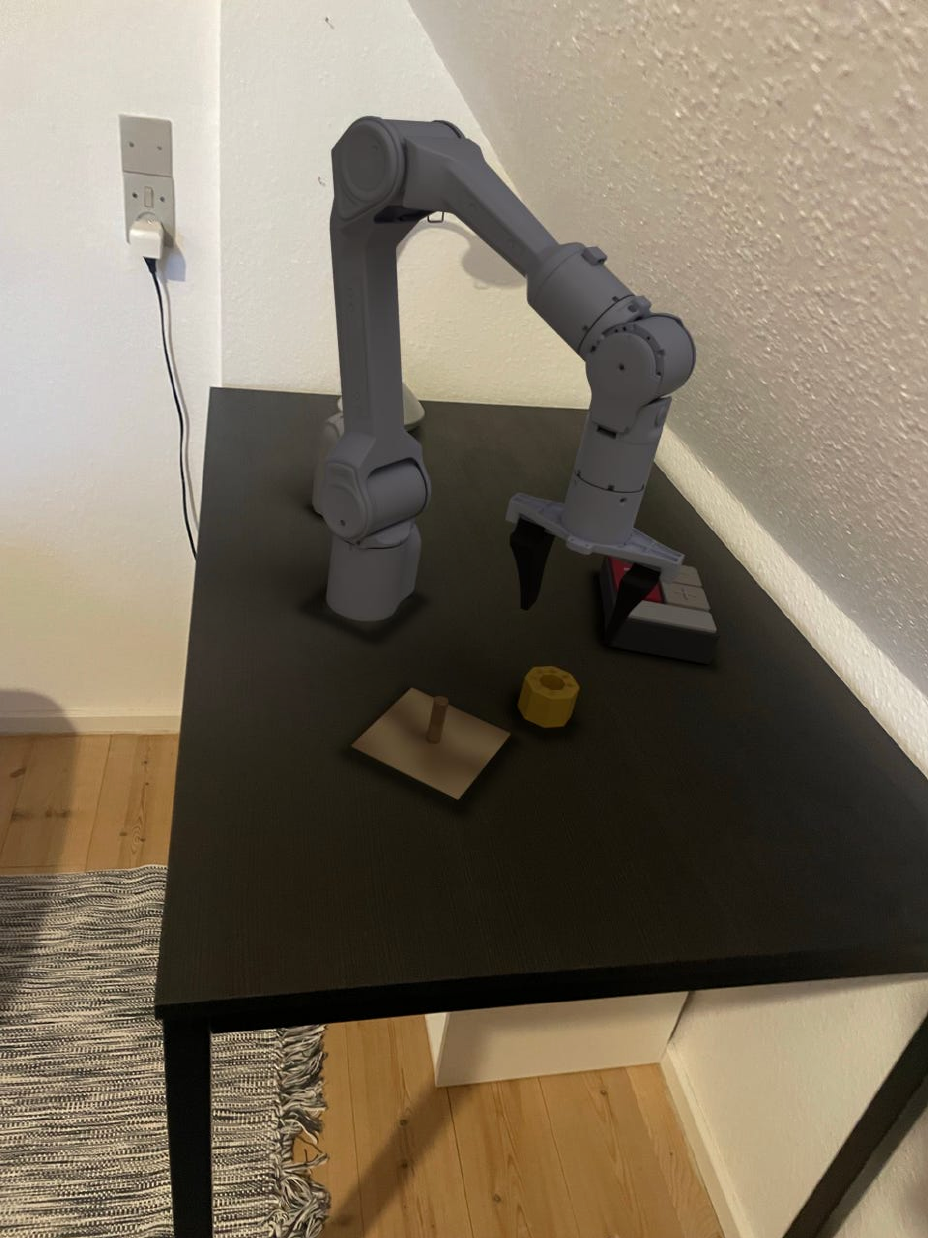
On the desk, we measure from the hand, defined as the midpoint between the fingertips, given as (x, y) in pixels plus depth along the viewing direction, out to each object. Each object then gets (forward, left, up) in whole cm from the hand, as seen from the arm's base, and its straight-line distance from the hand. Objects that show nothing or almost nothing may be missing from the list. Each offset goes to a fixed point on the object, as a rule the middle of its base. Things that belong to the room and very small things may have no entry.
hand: (568, 621), depth 80 cm
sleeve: (0, 0, -10) cm, 10 cm away
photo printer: (-22, -35, -11) cm, 43 cm away
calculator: (-24, +3, -11) cm, 26 cm away
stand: (+10, -6, -10) cm, 16 cm away
